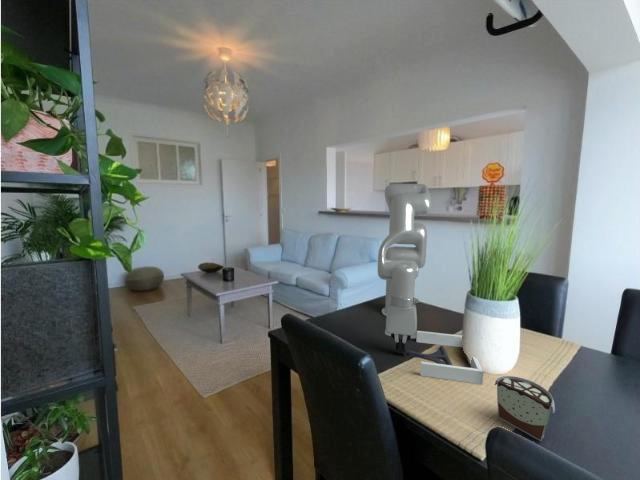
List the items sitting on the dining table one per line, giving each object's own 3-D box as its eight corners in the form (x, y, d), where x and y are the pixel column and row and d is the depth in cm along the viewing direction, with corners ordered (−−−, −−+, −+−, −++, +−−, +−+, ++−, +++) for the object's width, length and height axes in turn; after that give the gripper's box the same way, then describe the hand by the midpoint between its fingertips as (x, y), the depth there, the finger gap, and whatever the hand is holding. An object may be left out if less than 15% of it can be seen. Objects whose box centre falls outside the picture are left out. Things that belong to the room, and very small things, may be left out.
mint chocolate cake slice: (559, 433, 71) (564, 394, 69) (549, 446, 67) (554, 405, 66) (503, 404, 81) (506, 369, 79) (491, 413, 77) (495, 377, 76)
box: (416, 340, 116) (416, 330, 115) (465, 346, 111) (466, 336, 111) (420, 375, 93) (421, 363, 93) (482, 384, 89) (483, 371, 88)
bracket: (401, 346, 112) (401, 339, 112) (443, 350, 110) (444, 343, 109) (405, 368, 98) (405, 360, 98) (454, 373, 96) (455, 365, 95)
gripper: (424, 299, 105) (421, 349, 107) (380, 295, 108) (378, 344, 111) (426, 307, 97) (423, 360, 100) (378, 302, 101) (377, 354, 104)
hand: (399, 352), depth 105 cm, fingers closed
